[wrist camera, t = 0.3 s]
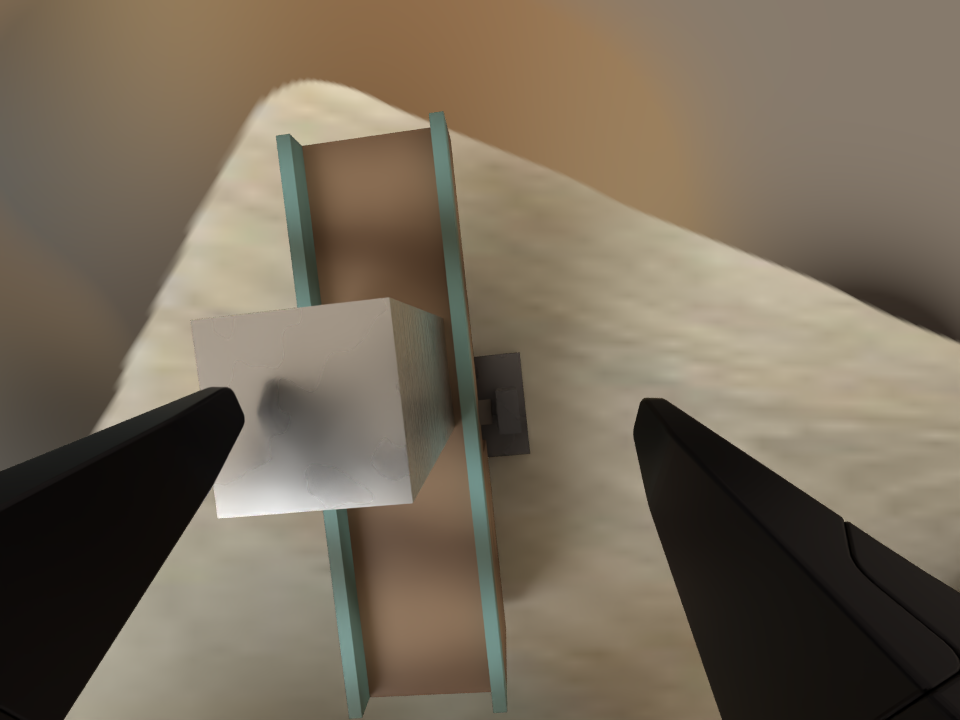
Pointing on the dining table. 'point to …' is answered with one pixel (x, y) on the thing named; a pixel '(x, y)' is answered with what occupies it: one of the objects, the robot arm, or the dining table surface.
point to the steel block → (328, 404)
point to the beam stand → (503, 403)
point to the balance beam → (464, 460)
